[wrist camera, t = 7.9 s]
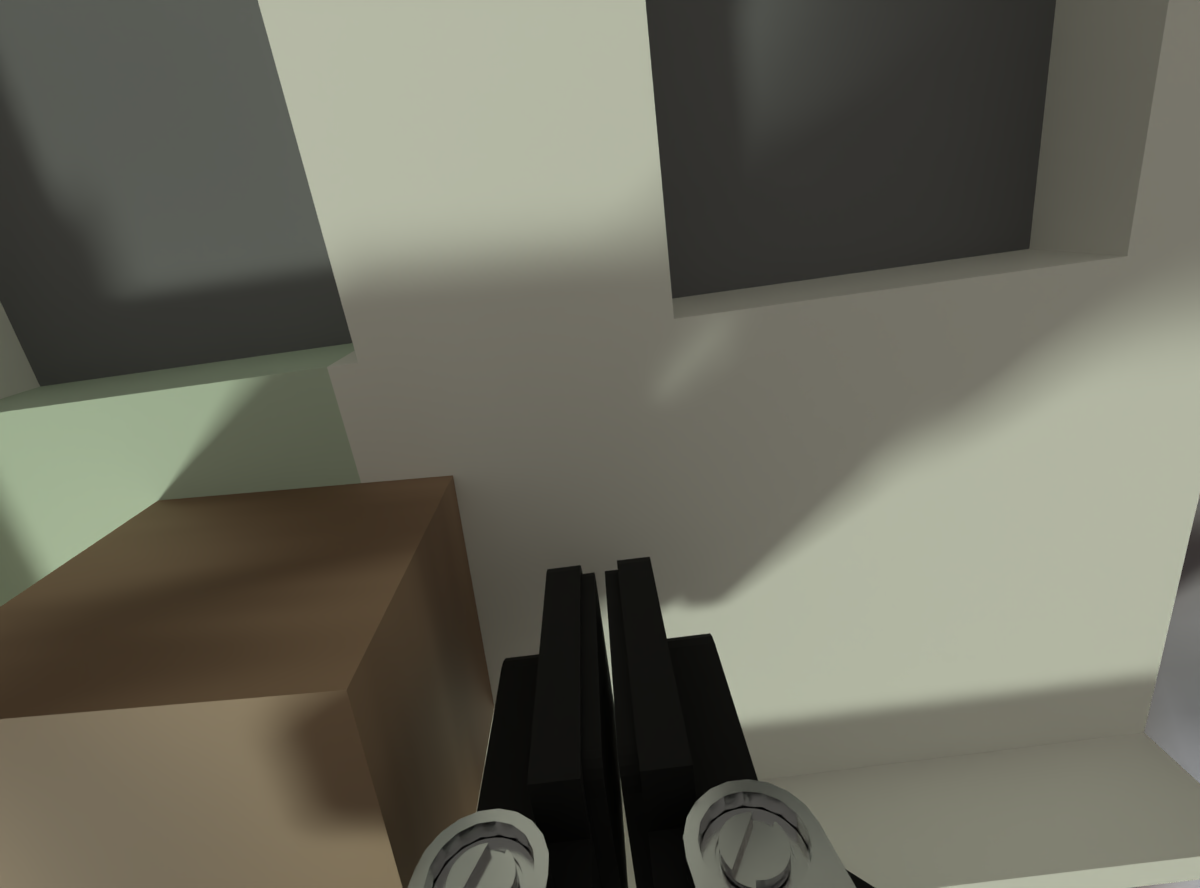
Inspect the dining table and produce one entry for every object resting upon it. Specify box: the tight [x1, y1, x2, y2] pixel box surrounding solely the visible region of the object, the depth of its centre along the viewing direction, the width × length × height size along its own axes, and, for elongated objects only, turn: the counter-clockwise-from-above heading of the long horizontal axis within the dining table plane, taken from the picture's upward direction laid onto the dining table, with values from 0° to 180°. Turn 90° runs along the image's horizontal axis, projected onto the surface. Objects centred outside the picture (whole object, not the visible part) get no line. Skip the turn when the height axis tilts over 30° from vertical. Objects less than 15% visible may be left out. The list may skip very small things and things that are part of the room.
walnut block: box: [0, 475, 494, 888], centre depth 9 cm, size 5×5×5 cm
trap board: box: [0, 0, 1200, 888], centre depth 10 cm, size 23×19×5 cm
